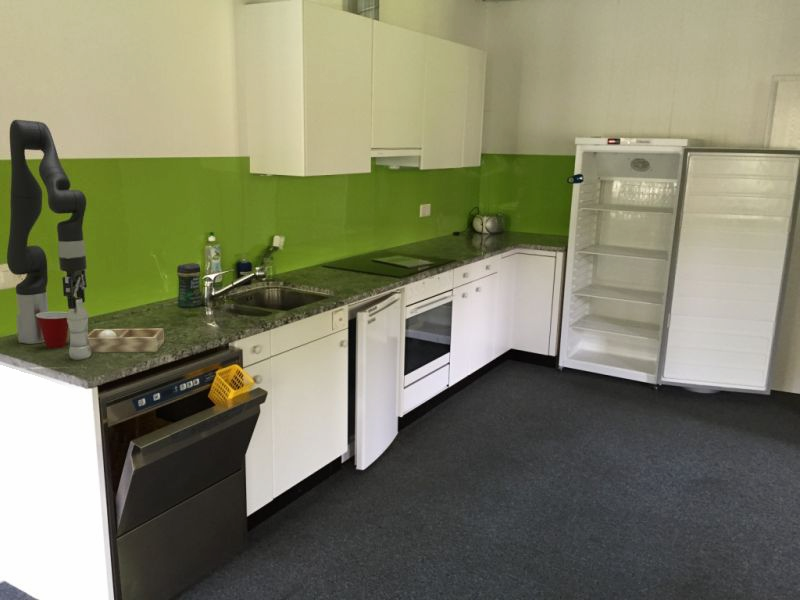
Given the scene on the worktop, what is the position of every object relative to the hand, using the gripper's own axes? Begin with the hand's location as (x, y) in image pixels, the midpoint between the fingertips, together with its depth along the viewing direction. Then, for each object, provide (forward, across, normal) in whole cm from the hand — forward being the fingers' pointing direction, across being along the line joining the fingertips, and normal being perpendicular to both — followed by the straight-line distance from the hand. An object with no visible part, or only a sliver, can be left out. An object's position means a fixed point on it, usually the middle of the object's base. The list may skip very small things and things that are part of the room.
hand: (76, 305), depth 213 cm
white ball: (+17, -11, +5) cm, 21 cm away
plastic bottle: (+18, 0, 0) cm, 18 cm away
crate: (+18, -11, +11) cm, 24 cm away
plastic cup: (+18, -14, -12) cm, 26 cm away
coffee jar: (+18, -75, +22) cm, 80 cm away
